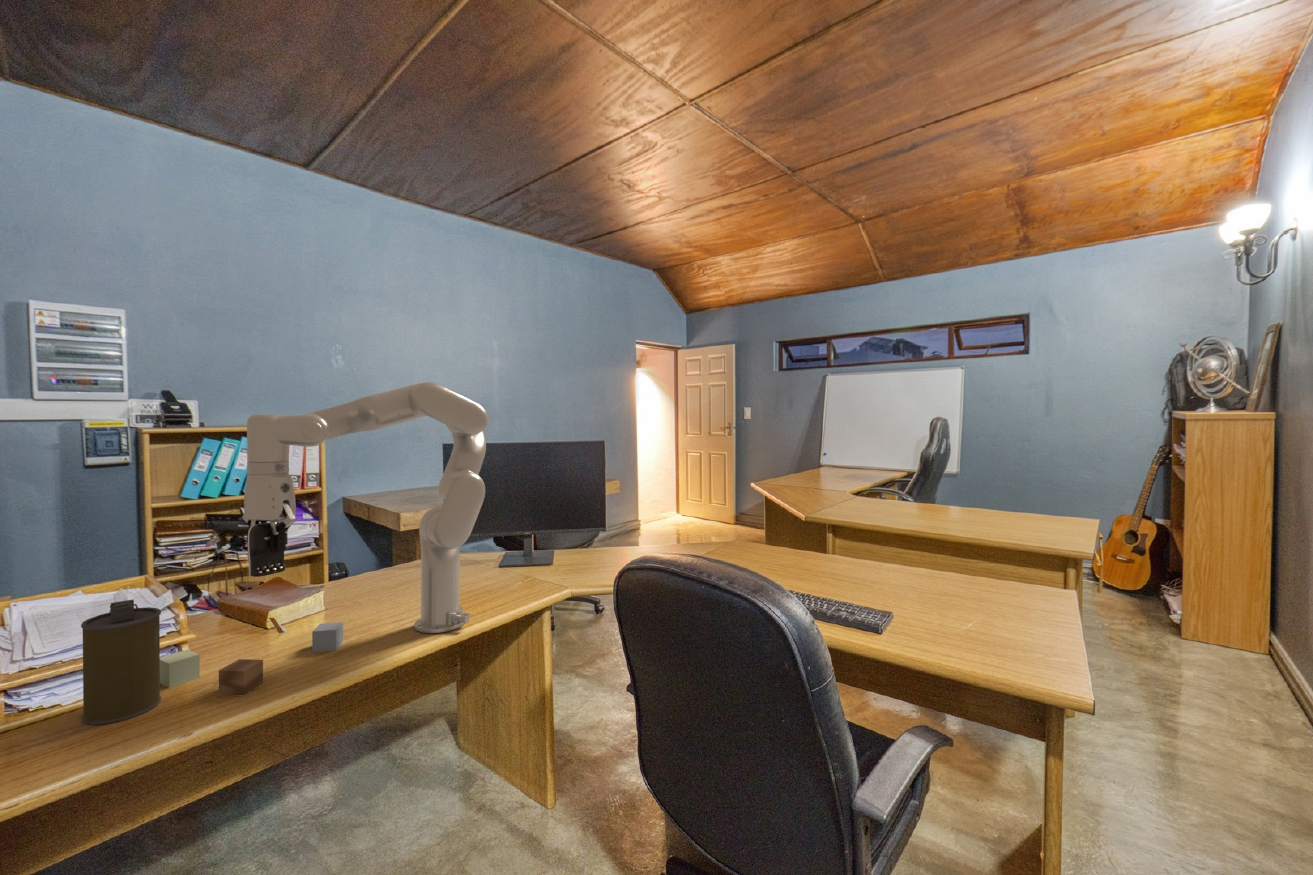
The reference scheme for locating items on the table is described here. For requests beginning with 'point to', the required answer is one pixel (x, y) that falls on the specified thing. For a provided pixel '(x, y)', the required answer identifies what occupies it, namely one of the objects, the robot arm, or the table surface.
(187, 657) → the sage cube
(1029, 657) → the table surface
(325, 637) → the slate cube
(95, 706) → the canister
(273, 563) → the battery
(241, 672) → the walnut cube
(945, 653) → the table surface
